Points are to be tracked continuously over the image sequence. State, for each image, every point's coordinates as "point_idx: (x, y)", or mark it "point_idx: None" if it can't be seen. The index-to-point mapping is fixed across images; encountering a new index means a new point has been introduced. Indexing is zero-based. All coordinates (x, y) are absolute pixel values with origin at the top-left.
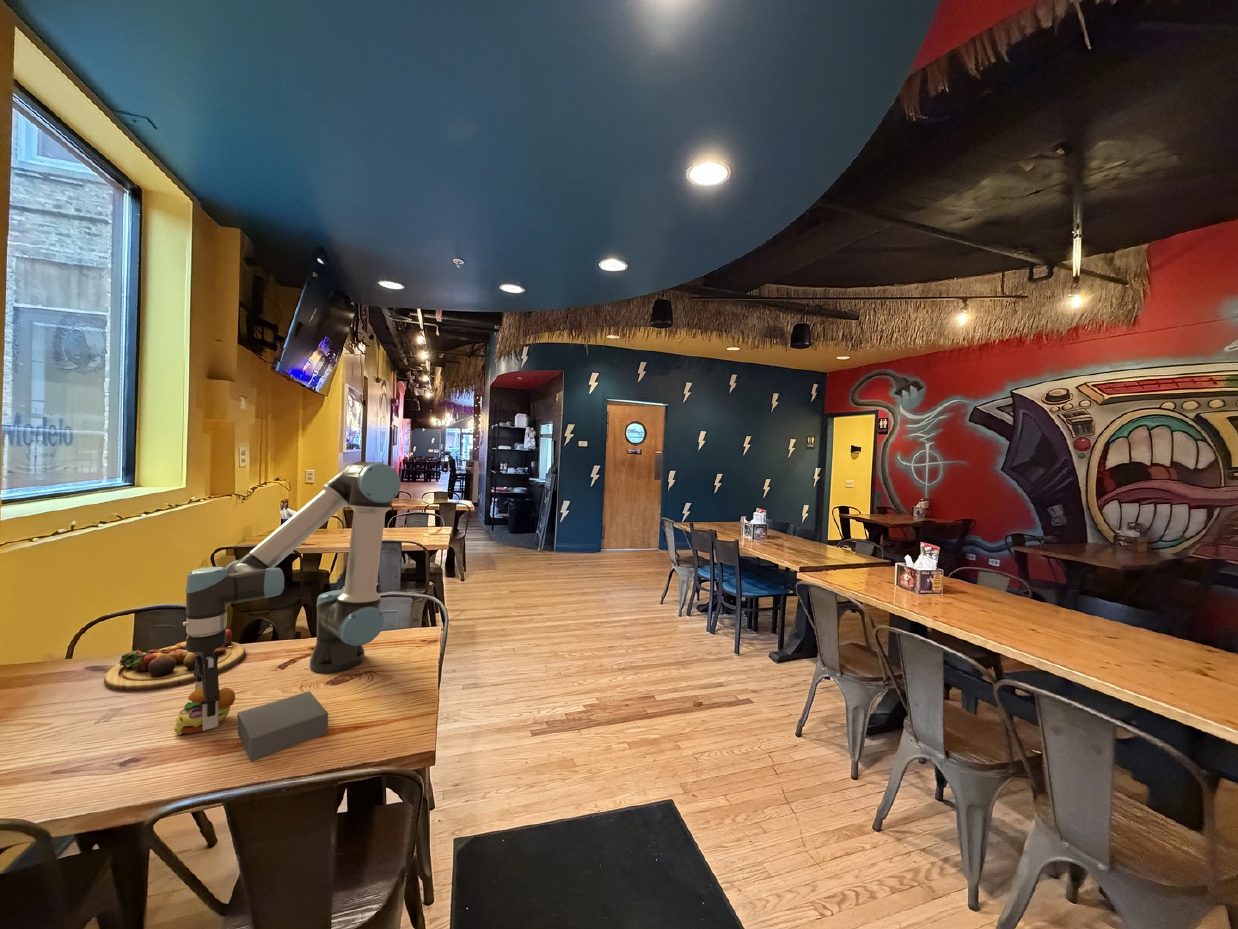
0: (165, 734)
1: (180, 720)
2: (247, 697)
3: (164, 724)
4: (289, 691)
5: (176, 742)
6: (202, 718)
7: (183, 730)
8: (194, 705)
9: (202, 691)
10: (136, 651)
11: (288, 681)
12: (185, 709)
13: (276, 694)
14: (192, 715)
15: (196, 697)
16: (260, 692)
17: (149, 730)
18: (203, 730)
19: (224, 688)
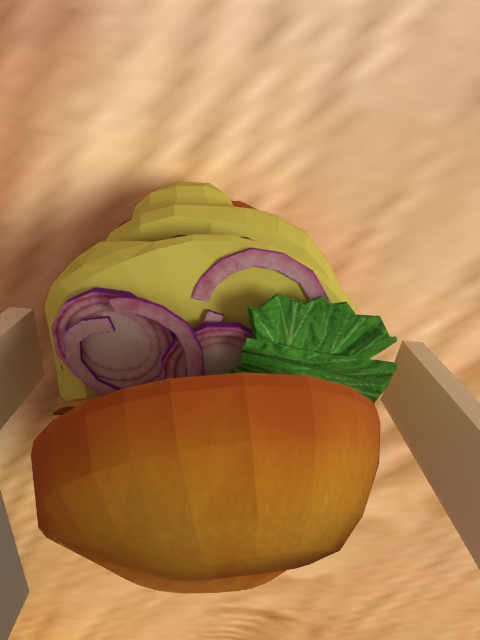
0: (261, 137)
1: (188, 232)
2: None
3: (432, 165)
4: (264, 590)
5: (74, 165)
6: (52, 347)
7: (122, 223)
8: (282, 361)
9: (137, 537)
10: None
11: (364, 604)
12: (305, 298)
13: None
14: (98, 311)
15: (108, 448)
16: (360, 538)
17: (433, 62)
18: (10, 309)
19: (230, 586)
